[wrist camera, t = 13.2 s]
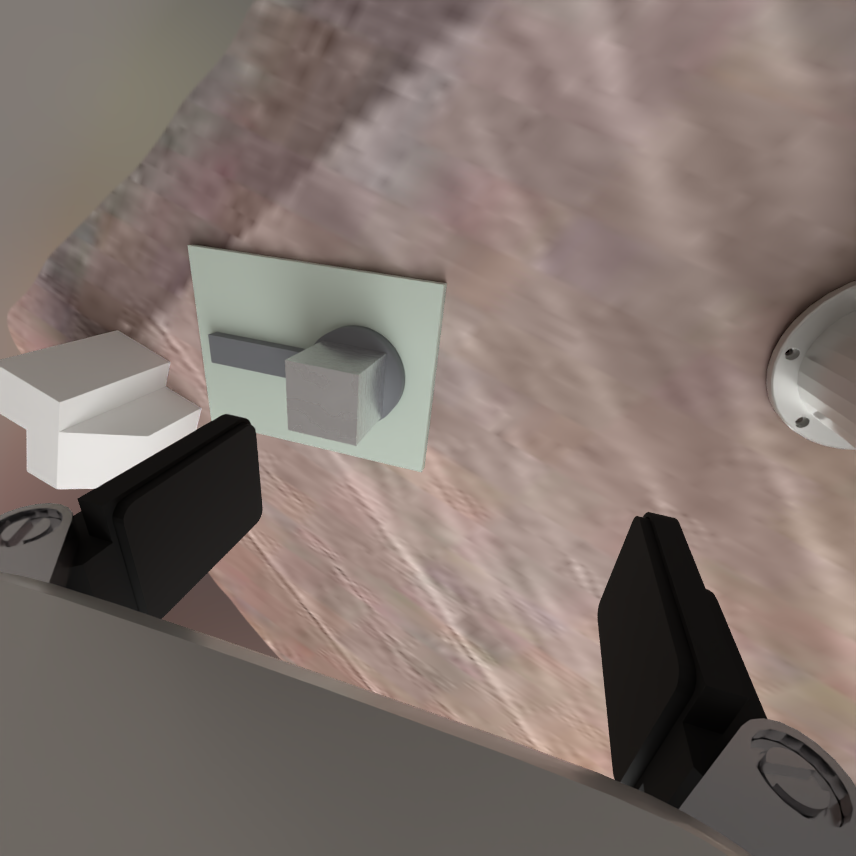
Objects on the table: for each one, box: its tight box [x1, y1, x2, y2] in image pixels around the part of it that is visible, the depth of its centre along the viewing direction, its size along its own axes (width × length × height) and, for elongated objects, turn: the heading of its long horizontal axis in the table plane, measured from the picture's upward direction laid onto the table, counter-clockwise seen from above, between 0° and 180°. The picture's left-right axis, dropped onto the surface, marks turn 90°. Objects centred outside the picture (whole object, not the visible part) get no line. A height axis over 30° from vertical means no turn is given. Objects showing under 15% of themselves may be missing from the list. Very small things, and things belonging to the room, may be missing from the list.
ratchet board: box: [188, 245, 447, 472], centre depth 39 cm, size 24×18×6 cm
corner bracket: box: [0, 330, 202, 489], centre depth 44 cm, size 11×11×12 cm
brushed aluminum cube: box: [285, 341, 387, 446], centre depth 36 cm, size 6×6×6 cm
